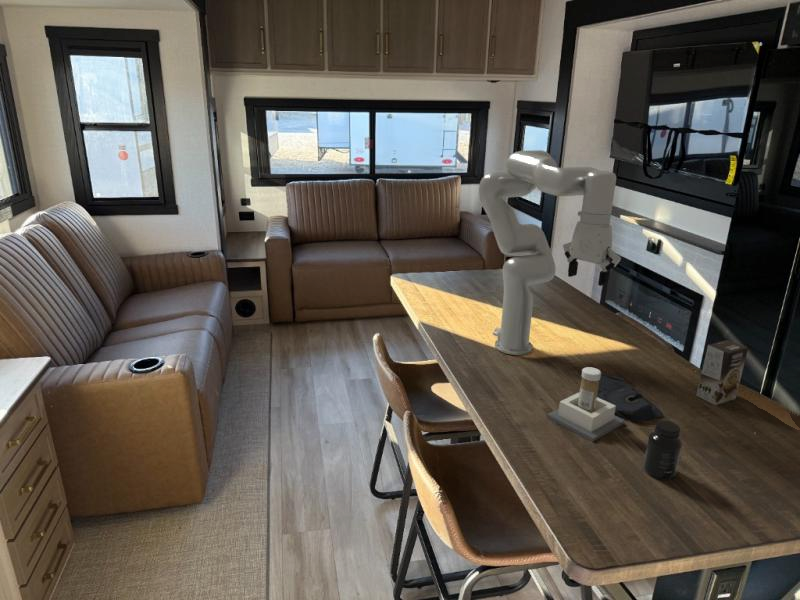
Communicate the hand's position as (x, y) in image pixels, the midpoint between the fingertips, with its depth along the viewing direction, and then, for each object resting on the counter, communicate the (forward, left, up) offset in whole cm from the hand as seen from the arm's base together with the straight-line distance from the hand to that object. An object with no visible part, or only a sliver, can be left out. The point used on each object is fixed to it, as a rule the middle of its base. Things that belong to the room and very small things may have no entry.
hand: (587, 280), depth 157 cm
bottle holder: (+14, -14, -32) cm, 38 cm away
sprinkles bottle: (+14, -14, -32) cm, 37 cm away
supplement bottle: (+37, -19, -32) cm, 53 cm away
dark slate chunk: (+13, +3, -33) cm, 36 cm away
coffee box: (+29, +27, -32) cm, 51 cm away
